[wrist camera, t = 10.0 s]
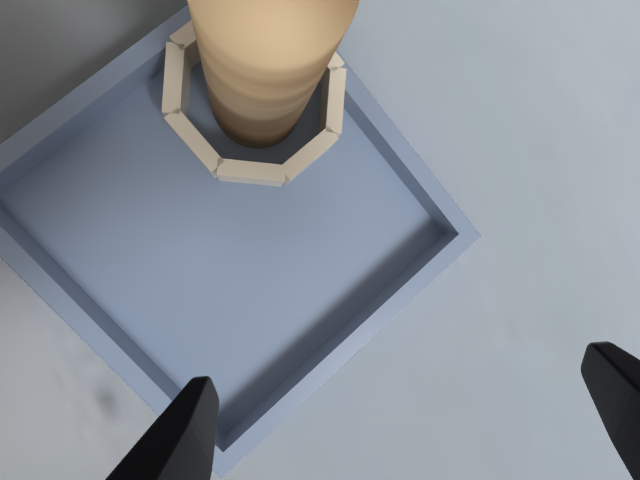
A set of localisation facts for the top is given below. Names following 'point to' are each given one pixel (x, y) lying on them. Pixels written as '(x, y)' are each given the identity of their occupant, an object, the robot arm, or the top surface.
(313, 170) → the tray
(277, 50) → the peg
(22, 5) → the top surface
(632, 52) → the top surface
